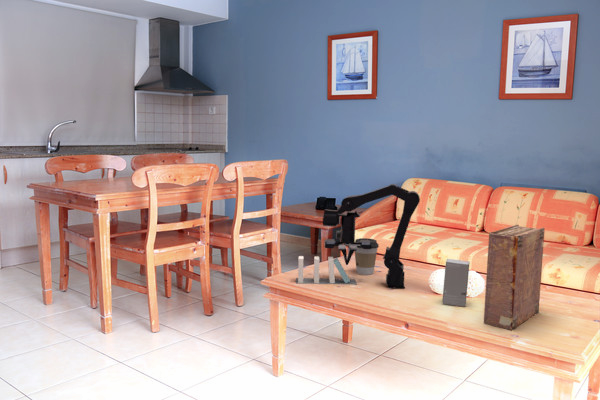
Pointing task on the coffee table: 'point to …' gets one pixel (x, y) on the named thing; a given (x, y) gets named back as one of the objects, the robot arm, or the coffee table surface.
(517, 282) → the book
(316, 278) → the ivory domino
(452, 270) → the skincare box
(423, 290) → the coffee table surface
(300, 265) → the ivory end domino
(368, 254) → the coffee cup
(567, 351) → the coffee table surface
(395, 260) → the robot arm
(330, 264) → the ivory domino
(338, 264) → the teal domino
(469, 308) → the coffee table surface
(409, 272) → the coffee table surface
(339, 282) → the mat
